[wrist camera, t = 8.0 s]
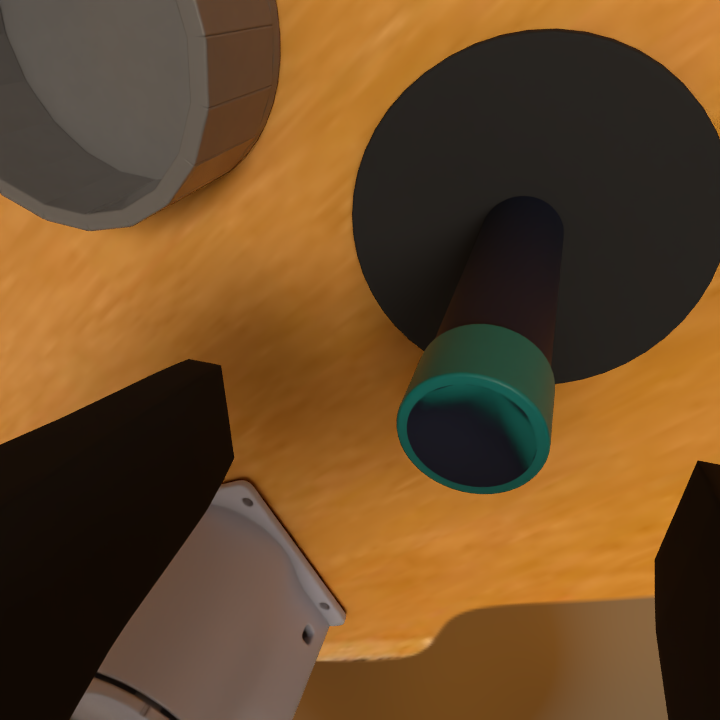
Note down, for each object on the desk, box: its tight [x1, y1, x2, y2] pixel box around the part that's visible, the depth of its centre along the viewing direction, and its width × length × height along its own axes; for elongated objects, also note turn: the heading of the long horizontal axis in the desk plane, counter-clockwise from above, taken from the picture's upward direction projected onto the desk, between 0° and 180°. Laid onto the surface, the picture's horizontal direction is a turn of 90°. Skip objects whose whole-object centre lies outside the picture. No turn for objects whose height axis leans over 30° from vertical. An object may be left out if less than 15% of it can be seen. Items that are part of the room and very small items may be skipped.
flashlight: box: [397, 196, 564, 494], centre depth 13 cm, size 2×2×9 cm
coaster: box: [352, 29, 720, 384], centre depth 17 cm, size 10×10×1 cm
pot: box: [0, 0, 280, 231], centre depth 16 cm, size 9×9×4 cm
